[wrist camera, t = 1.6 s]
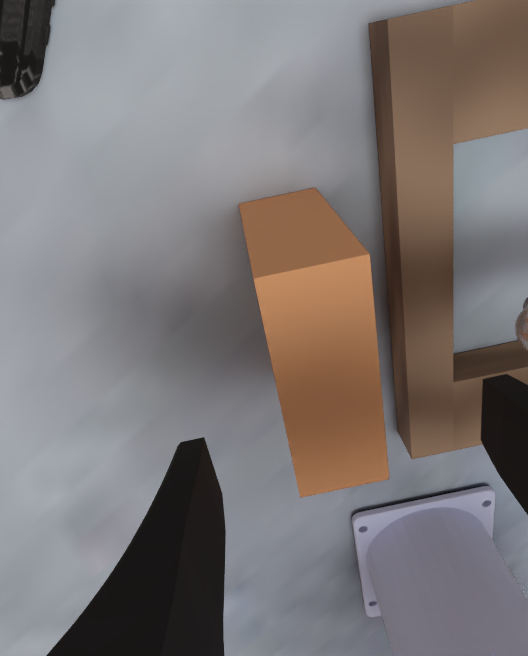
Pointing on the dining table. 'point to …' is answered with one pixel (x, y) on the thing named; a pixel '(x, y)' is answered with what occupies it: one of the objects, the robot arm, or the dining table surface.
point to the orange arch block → (319, 338)
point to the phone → (22, 44)
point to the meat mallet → (522, 326)
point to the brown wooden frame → (440, 199)
